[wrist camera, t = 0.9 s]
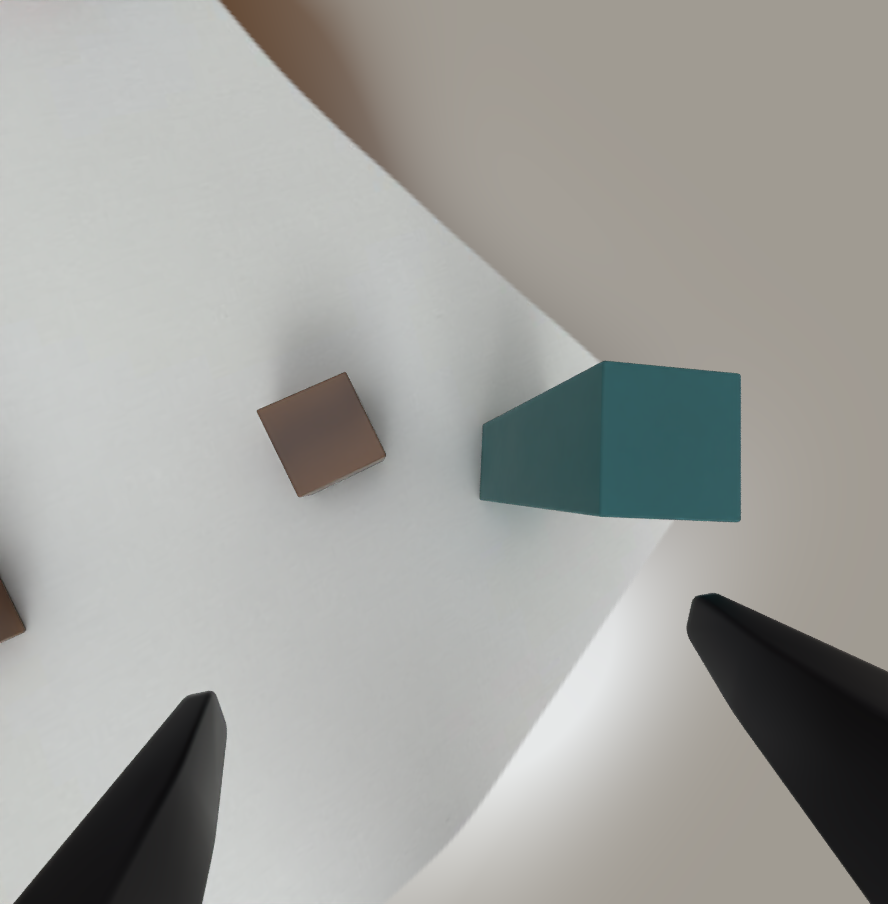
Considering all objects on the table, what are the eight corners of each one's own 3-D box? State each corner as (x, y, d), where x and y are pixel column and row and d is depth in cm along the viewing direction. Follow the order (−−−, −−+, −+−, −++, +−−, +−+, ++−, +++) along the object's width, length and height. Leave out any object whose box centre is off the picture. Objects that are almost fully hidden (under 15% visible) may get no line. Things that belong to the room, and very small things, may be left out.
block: (383, 460, 24) (386, 455, 20) (310, 495, 23) (298, 497, 19) (349, 389, 24) (345, 371, 20) (275, 422, 23) (255, 410, 19)
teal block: (551, 503, 25) (742, 522, 12) (479, 499, 24) (599, 516, 12) (554, 429, 25) (742, 372, 13) (482, 424, 25) (603, 359, 12)
